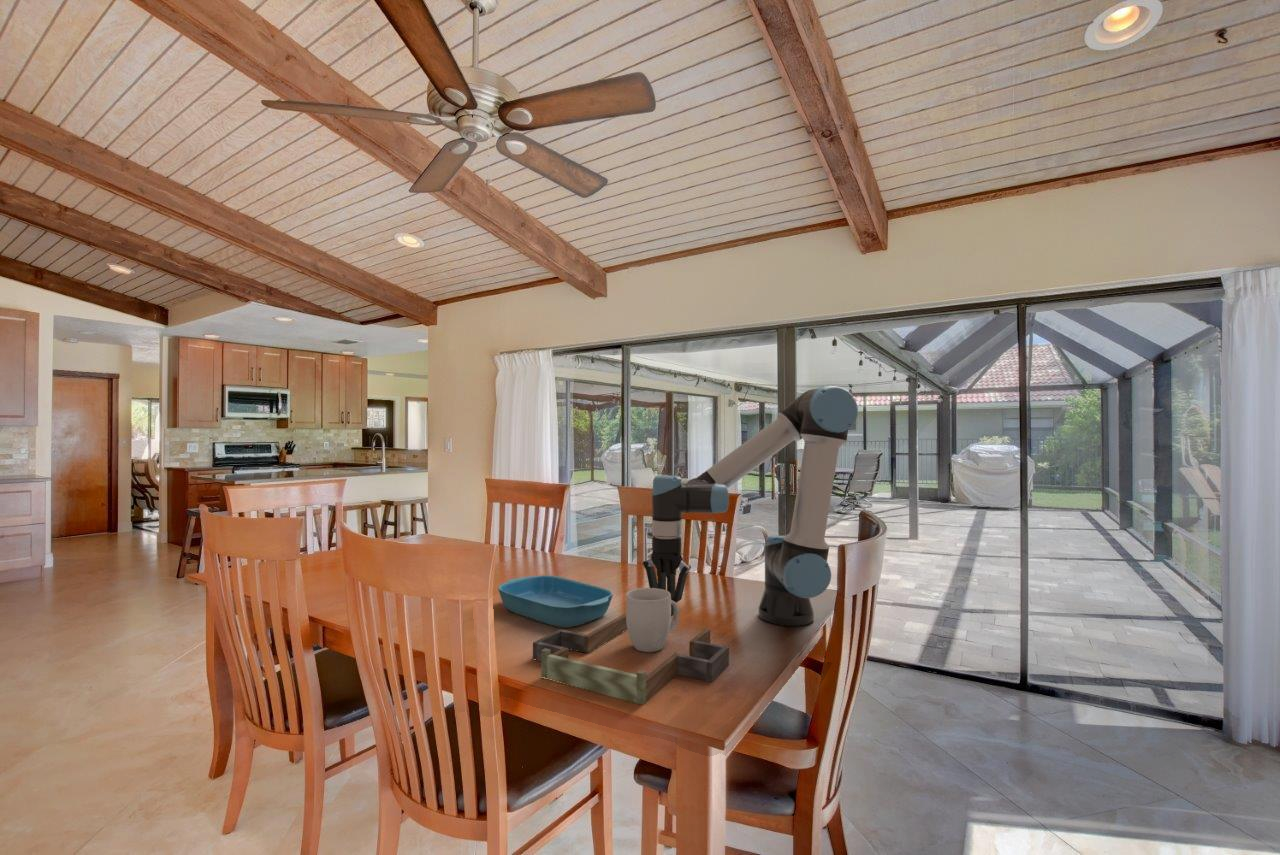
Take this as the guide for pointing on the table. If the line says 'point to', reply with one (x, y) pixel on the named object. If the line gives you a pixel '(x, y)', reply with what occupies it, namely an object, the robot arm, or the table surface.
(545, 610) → the casserole dish
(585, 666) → the channel
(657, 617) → the mug
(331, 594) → the table surface
